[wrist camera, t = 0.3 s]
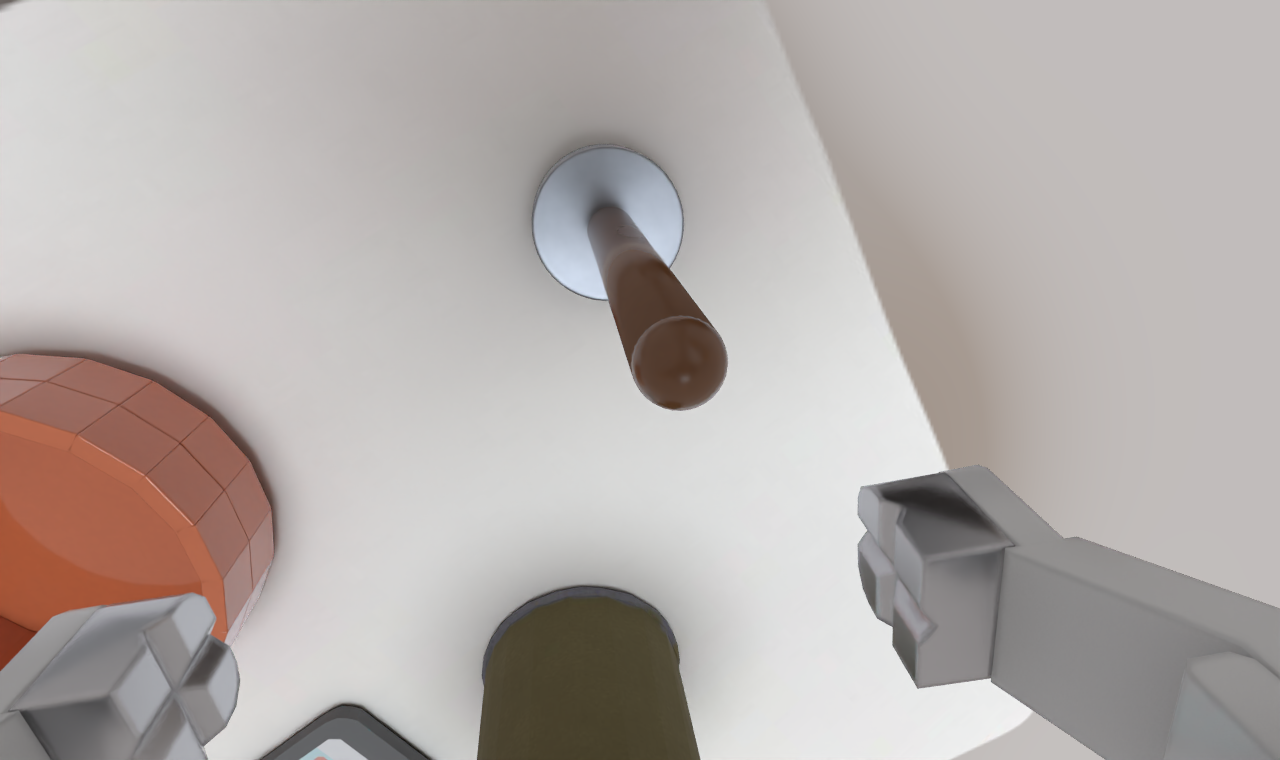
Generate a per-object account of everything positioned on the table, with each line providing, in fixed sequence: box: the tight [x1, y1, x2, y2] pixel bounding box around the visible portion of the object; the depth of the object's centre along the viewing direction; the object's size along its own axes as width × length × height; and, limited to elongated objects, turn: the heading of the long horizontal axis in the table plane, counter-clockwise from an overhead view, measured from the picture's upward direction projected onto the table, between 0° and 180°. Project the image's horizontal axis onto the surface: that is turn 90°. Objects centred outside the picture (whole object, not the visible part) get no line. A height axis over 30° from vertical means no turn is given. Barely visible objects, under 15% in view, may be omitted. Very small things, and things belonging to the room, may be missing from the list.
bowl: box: [0, 354, 274, 671], centre depth 29 cm, size 16×16×6 cm
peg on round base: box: [532, 144, 728, 411], centre depth 21 cm, size 6×6×19 cm
